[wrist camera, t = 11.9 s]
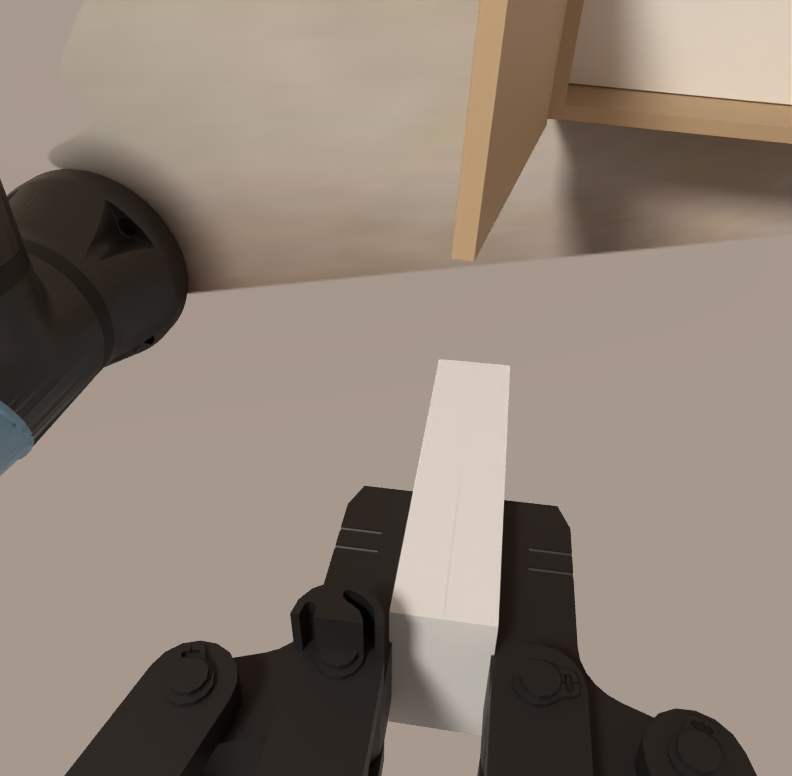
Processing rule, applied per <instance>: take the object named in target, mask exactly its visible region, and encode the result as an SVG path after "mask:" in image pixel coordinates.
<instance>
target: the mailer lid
mask: <svg viewBox="0 0 792 776" xmlns="http://www.w3.org/2000/svg"><path fill="white" fill-rule="evenodd" d="M567 3H568V0H480V2H479V11H478V20H477V29H476V38H475V47H474V56H473V65H472V74H471V83H470V92H469V102H468V111H467V120H466V129H465V138H464V147H463V156H462V165H461V174H460V183H459V192H458V202H457V211H456V220H455V229H454V238H453V247H452V256H451V258H455V259H461V260H466V261H472V262H474V260H475V259H476V257H477V255H478V253H479V251H480V249H481V247H482V245H483V243H484V242H485V240H486V238H487V236H488V234H489V232H490V230H491V228H492V227H493V225H494V223H495V221H496V219H497V217H498V215H499V213H500V211H501V210H502V208H503V206H504V204H505V202H506V200H507V198H508V196H509V194H510V193H511V191H512V189H513V187H514V185H515V183H516V181H517V179H518V178H519V176H520V174H521V172H522V170H523V168H524V166H525V164H526V162H527V161H528V159H529V157H530V155H531V153H532V151H533V149H534V147H535V145H536V144H537V142H538V140H539V138H540V136H541V134H542V132H543V130H544V129H545V127H546V124H547V118H548V113H549V107H550V101H551V95H552V90H553V84H554V78H555V72H556V67H557V61H558V55H559V49H560V44H561V38H562V32H563V26H564V21H565V15H566V9H567Z"/></svg>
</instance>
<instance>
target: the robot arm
mask: <svg viewBox="0 0 792 776" xmlns="http://www.w3.org/2000/svg"><path fill="white" fill-rule="evenodd" d="M186 297H187V273H186V268H185V263H184V260H183V257H182V254H181V251H180V249H179V247H178V244H177V242H176V240H175V239H174V237H173V235H172V233H171V232H170V230H169V229H168V227H167V226H166V224H165V223H164V222H163V220H162V219H161V218H160V217H159V215H158V214H157V213H156V212H155V211H154V210H153V209H152V208H151V207H150V206H149V205H148V204H147V203H146V202H145V201H144V200H142V199H141V198H140V197H139V196H137V195H136V194H135V193H133V192H132V191H130V190H129V189H128V188H126V187H124V186H123V185H121V184H119V183H117V182H115V181H113V180H111V179H109V178H107V177H104V176H101V175H98V174H95V173H92V172H87V171H82V170H73V169H62V170H54V171H50V172H46V173H43V174H40V175H38V176H36V177H34V178H32V179H31V180H29V181H27V182H25V183H24V184H22V185H20V186H19V187H17V188H16V189H14V190H13V191H12V192H10V193H9V194H8V195H7V196H6V193H5V190H4V188H3V185H2V182H1V180H0V476H1V475H2V474H3V473H4V472H5V471H6V470H7V469H8V468H9V467H10V466H12V465H13V464H14V463H15V462H16V461H17V460H18V459H21V458H23V457H25V456H26V455H27V454H28V452H30V450H31V448H32V447H33V446H34V445H35V444H36V442H37V441H38V440H39V439H40V438H41V437H42V436H43V434H45V432H46V431H47V430H48V429H49V428H50V427H51V426H52V424H53V423H54V422H55V421H56V420H57V419H58V418H59V417H60V416H61V414H62V413H63V412H64V411H65V410H66V409H67V408H68V406H69V405H70V404H71V403H72V402H73V401H74V400H75V399H76V398H77V397H78V395H79V394H80V393H81V392H82V391H83V390H84V389H85V388H86V386H87V385H88V384H89V383H90V382H91V381H92V380H93V378H94V377H95V376H96V375H97V374H98V373H99V372H100V371H101V370H102V368H104V367H106V366H108V365H111V364H113V363H116V362H118V361H121V360H123V359H125V358H128V357H130V356H132V355H135V354H137V353H140V352H142V351H144V350H146V349H148V348H150V347H151V346H153V345H154V344H156V343H157V342H158V341H159V340H160V339H161V338H163V336H164V335H165V334H166V333H167V332H168V331H169V330H170V328H171V327H172V326H173V325H174V324H175V323H176V321H177V320H178V318H179V317H180V315H181V313H182V311H183V308H184V305H185V302H186ZM509 376H510V366H507V365H496V364H485V363H475V362H464V361H453V360H441V359H439V363H438V368H437V373H436V378H435V383H434V389H433V393H432V399H431V403H430V408H429V413H428V419H427V423H426V429H425V434H424V439H423V444H422V449H421V454H420V459H419V464H418V469H417V474H416V479H415V484H414V489H413V491H404V490H395V489H387V488H378V487H370V486H364V487H363V488H362V489H361V490H360V491H359V493H358V494H357V495H356V496H355V497H354V498H353V499H352V500H351V501H350V502H349V503H348V506H347V509H346V512H345V515H344V519H343V522H342V525H341V531H340V532H339V535H338V539H337V542H336V548H335V549H334V552H333V555H332V559H331V562H330V566H329V569H328V572H327V575H326V579H325V582H324V585H321V586H318V587H315V588H313V589H311V590H310V591H309V592H307V593H306V594H305V595H303V596H302V597H301V598H300V599H299V600H298V601H297V603H296V605H295V606H294V608H293V610H292V611H291V613H290V615H291V624H292V632H293V642H292V643H290V644H288V645H286V646H284V647H282V648H280V649H278V650H273V651H270V652H266V653H261V654H254V655H248V656H242V657H235V658H232V656H231V654H230V652H228V651H227V650H225V649H224V648H223V647H221V646H220V645H218V644H216V643H210V642H205V641H195V642H189V643H182V644H180V645H178V646H176V647H174V648H172V649H170V650H169V651H166V652H165V653H164V654H163V655H161V657H160V658H158V659H157V660H156V661H155V662H154V663H153V664H152V665H151V666H150V667H149V668H148V670H147V671H146V672H145V674H144V675H143V676H142V677H141V679H140V680H139V681H138V682H137V684H136V685H135V686H134V688H133V689H132V690H131V692H130V693H129V694H128V695H127V697H126V698H125V699H124V700H123V702H122V703H121V704H120V705H119V707H118V708H117V709H116V711H115V712H114V713H113V714H112V716H111V717H110V719H109V720H108V721H107V722H106V723H105V725H104V726H103V727H102V728H101V730H100V731H99V732H98V734H97V735H96V736H95V737H94V739H93V740H92V741H91V743H90V744H89V745H88V746H87V748H86V749H85V750H84V751H83V753H82V754H81V755H80V757H79V758H78V759H77V760H76V762H75V763H74V764H73V766H72V767H71V768H70V769H69V771H68V772H67V773H66V774H65V776H381V774H382V768H383V762H384V738H385V733H386V727H387V722H388V716H389V721H391V722H398V723H404V724H410V725H417V726H424V727H430V728H437V729H443V730H449V731H456V732H463V733H469V734H476V735H481V736H482V737H481V738H482V739H481V754H480V762H479V769H478V775H477V776H757V775H756V773H755V771H754V769H753V767H752V765H751V763H750V761H749V759H748V757H747V754H746V753H745V751H744V750H743V748H742V747H741V745H740V744H739V743H738V741H737V740H736V738H735V737H734V735H733V734H732V733H731V732H729V731H728V730H727V729H726V728H724V727H723V726H722V725H721V724H720V723H718V722H717V721H716V720H715V719H712V718H710V717H708V716H706V715H703V714H701V713H699V712H697V711H693V710H692V711H691V710H684V709H672V710H669V711H666V712H662V713H659V714H658V715H657V716H656V717H655V718H653V717H651V716H649V715H647V714H645V713H642V712H640V711H638V710H636V709H634V708H631V707H629V706H627V705H625V704H622V703H621V702H619V701H617V700H615V699H614V698H612V697H610V696H608V695H607V694H606V693H604V692H603V691H602V690H601V689H600V688H599V687H598V686H596V685H595V683H594V682H593V681H592V680H591V678H590V677H589V676H588V675H587V673H586V671H585V670H584V667H583V665H582V663H581V661H580V657H579V652H578V646H577V629H576V614H575V597H574V580H573V564H572V557H571V555H572V549H571V532H570V527H569V526H568V524H567V522H566V521H565V519H564V517H563V515H562V514H561V512H560V510H559V508H558V507H557V506H550V505H541V504H533V503H523V502H514V501H506V500H504V487H505V467H506V445H507V444H506V443H507V421H508V400H509Z"/></svg>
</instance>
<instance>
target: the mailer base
mask: <svg viewBox="0 0 792 776" xmlns="http://www.w3.org/2000/svg"><path fill="white" fill-rule="evenodd" d="M547 119H557V120H566V121H576V122H586V123H595V124H605V125H615V126H625V127H634V128H644V129H654V130H663V131H673V132H683V133H692V134H702V135H712V136H721V137H731V138H741V139H750V140H760V141H770V142H779V143H789V144H792V0H568V3H567V9H566V15H565V21H564V26H563V32H562V38H561V44H560V49H559V55H558V61H557V67H556V72H555V78H554V84H553V90H552V95H551V101H550V107H549V113H548V118H547Z"/></svg>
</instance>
